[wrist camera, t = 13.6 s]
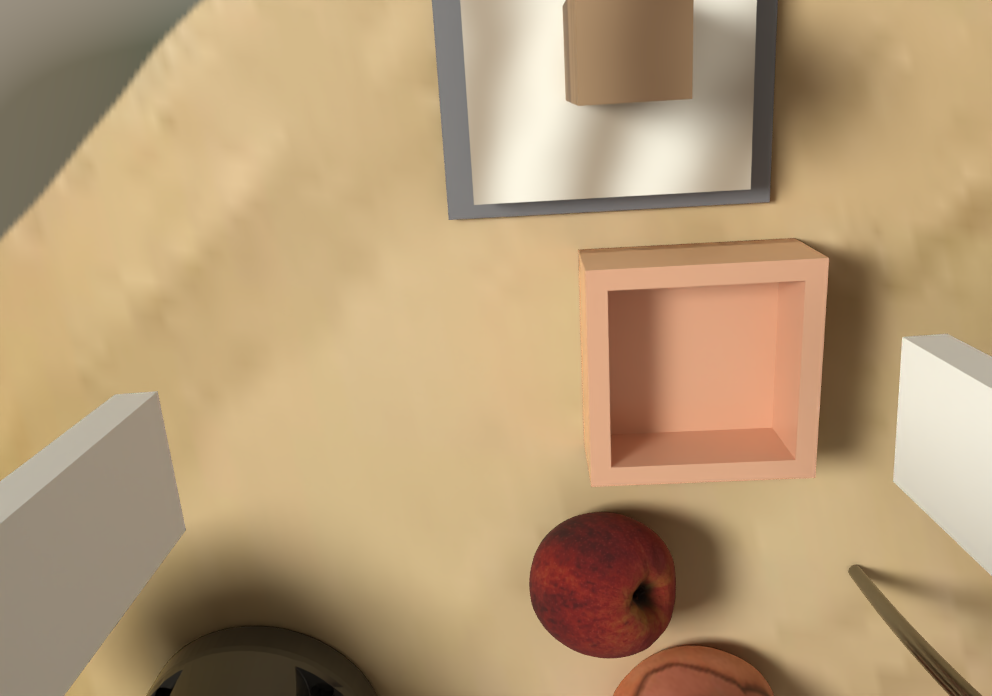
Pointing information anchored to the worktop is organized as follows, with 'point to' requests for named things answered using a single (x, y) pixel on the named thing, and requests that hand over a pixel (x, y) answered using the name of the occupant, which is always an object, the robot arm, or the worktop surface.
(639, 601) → the apple
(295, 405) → the worktop surface
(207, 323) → the worktop surface
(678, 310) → the dish
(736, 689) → the potted flower
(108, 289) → the worktop surface
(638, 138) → the lid
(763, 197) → the mat
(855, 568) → the juicer
